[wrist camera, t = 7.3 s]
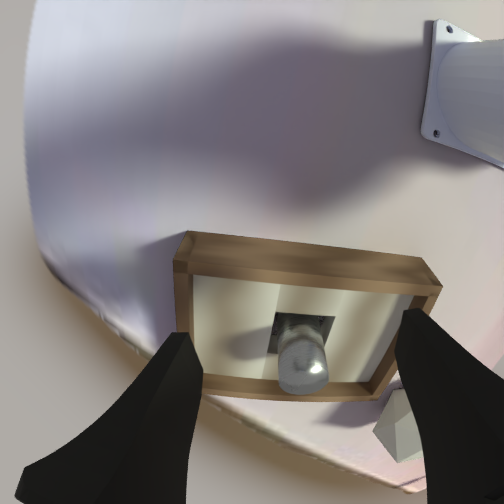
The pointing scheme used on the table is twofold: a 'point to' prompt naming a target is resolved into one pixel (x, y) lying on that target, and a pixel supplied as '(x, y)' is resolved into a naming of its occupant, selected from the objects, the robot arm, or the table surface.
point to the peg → (300, 354)
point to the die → (399, 429)
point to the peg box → (294, 311)
